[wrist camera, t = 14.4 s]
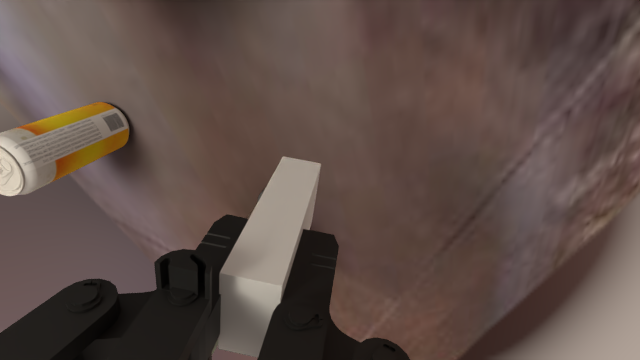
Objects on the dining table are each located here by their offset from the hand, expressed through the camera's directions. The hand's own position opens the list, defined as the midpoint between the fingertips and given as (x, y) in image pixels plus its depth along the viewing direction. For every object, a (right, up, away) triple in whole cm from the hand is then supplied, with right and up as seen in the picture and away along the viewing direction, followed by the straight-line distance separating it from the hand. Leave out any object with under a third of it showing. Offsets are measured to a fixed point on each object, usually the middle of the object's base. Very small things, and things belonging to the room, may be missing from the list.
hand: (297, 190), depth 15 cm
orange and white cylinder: (-26, +8, +34) cm, 43 cm away
